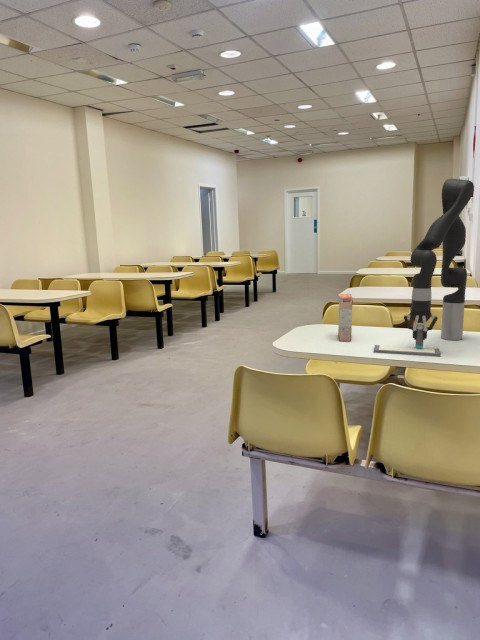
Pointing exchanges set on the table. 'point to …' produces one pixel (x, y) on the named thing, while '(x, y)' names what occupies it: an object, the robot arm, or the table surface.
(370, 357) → the table surface
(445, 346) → the table surface
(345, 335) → the cracker box
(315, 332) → the table surface
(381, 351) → the drawing board
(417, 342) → the marker
